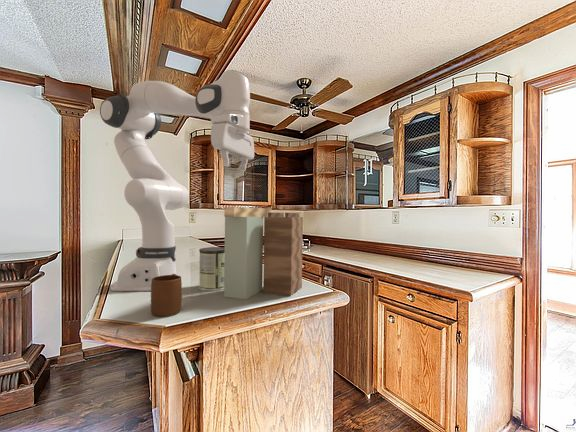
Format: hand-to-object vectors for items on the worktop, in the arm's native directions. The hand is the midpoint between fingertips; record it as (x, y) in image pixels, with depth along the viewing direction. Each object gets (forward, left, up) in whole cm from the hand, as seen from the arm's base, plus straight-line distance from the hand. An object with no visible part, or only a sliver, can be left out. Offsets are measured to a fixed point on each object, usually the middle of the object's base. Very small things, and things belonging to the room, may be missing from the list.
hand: (234, 168), depth 88 cm
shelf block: (+4, +6, -41) cm, 42 cm away
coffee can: (-6, +16, -41) cm, 45 cm away
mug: (-18, -6, -41) cm, 45 cm away
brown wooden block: (+18, +7, -41) cm, 45 cm away
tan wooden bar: (+6, +6, -15) cm, 17 cm away
